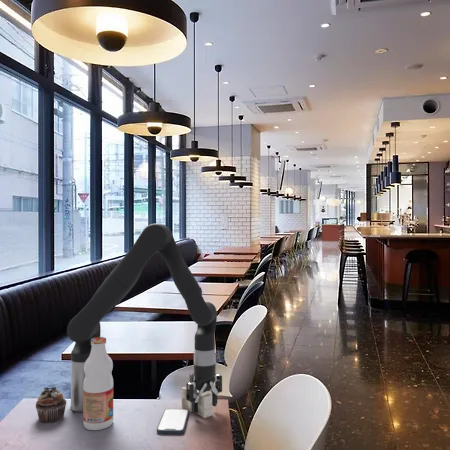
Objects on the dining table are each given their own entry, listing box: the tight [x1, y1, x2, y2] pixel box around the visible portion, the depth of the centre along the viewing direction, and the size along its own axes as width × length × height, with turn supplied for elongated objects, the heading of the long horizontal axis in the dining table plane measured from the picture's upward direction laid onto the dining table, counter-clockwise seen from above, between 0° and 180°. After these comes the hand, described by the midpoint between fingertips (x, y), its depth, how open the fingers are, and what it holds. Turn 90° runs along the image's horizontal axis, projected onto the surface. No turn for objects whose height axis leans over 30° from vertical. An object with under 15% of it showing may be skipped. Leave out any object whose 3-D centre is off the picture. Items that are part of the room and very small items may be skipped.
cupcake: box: [35, 386, 67, 424], centre depth 142 cm, size 10×10×10 cm
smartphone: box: [156, 408, 190, 435], centre depth 139 cm, size 9×2×16 cm
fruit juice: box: [82, 336, 114, 431], centre depth 138 cm, size 9×9×28 cm
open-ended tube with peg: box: [181, 386, 213, 419], centre depth 148 cm, size 12×5×7 cm, turn 41°
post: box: [188, 372, 195, 383], centre depth 150 cm, size 2×2×12 cm
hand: (204, 408), depth 145 cm, fingers open, 7 cm apart
